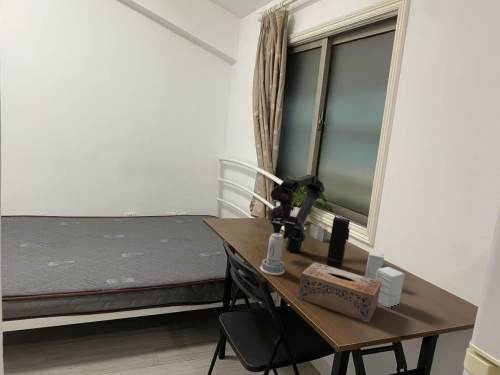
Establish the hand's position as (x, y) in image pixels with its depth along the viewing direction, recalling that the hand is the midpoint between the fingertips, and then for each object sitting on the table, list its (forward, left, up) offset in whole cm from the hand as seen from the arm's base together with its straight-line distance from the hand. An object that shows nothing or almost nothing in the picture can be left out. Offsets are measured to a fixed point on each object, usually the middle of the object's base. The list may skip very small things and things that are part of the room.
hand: (280, 238), depth 166 cm
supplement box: (-28, +41, -11) cm, 51 cm away
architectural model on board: (-38, -32, -12) cm, 51 cm away
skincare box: (-35, +23, -11) cm, 44 cm away
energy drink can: (+6, +10, -10) cm, 16 cm away
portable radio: (-27, +7, -11) cm, 30 cm away
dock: (+6, +10, -11) cm, 16 cm away
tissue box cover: (-8, +40, -11) cm, 42 cm away
